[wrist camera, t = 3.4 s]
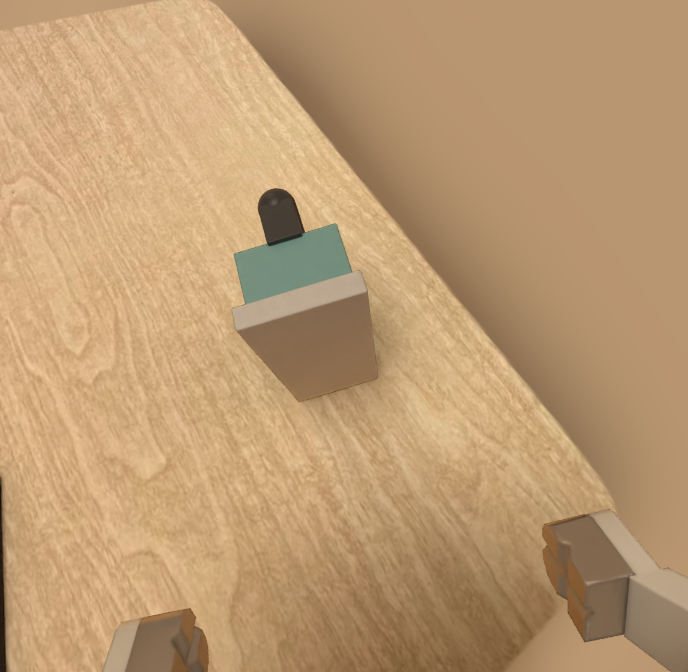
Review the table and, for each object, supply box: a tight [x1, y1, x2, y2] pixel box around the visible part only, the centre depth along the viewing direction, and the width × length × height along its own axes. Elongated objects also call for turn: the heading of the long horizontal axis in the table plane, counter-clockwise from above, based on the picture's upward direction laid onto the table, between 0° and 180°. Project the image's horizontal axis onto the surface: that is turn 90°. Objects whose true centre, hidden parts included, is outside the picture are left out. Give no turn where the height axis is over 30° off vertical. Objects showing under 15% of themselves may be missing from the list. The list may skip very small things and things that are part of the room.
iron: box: [231, 188, 378, 402], centre depth 26 cm, size 8×5×13 cm
